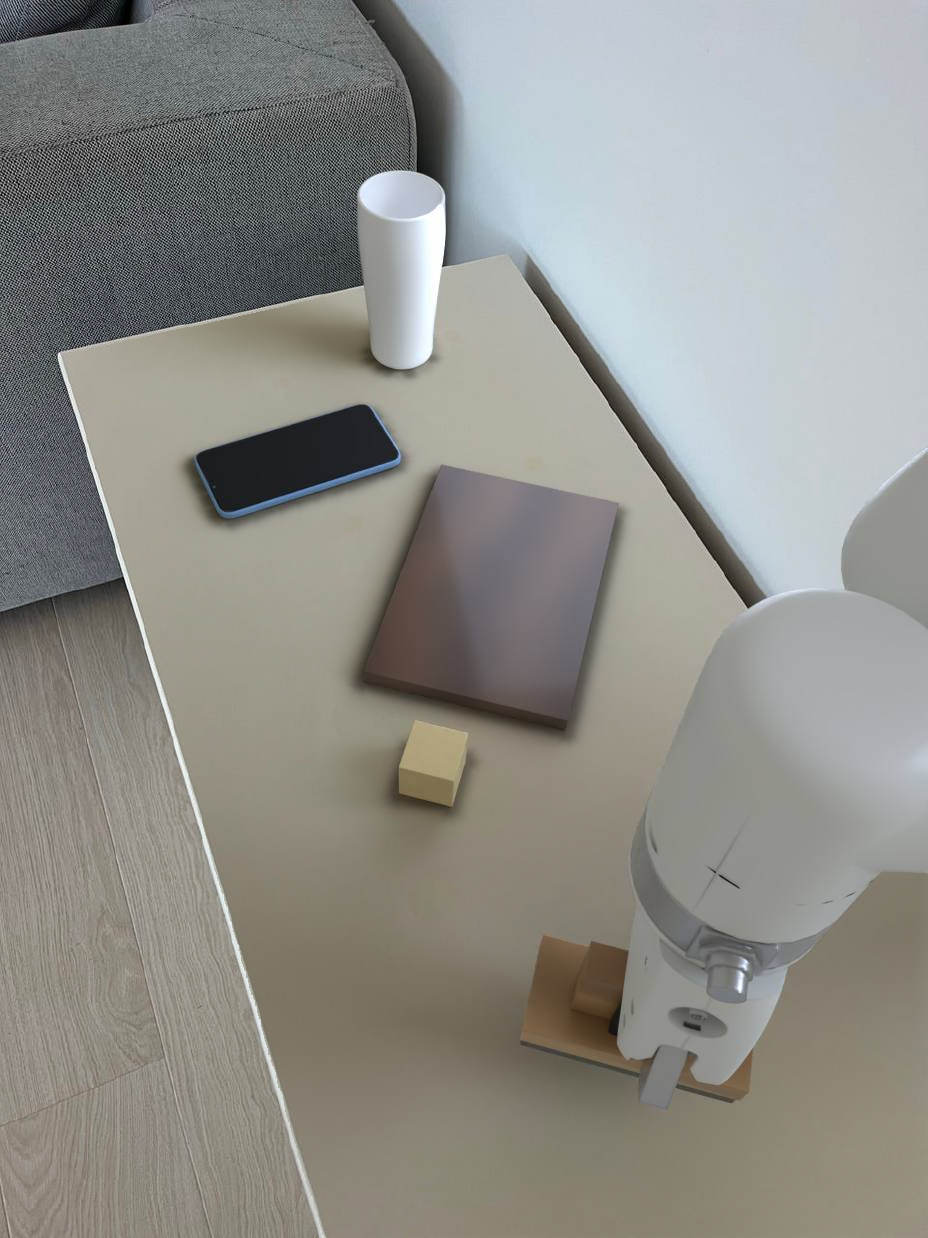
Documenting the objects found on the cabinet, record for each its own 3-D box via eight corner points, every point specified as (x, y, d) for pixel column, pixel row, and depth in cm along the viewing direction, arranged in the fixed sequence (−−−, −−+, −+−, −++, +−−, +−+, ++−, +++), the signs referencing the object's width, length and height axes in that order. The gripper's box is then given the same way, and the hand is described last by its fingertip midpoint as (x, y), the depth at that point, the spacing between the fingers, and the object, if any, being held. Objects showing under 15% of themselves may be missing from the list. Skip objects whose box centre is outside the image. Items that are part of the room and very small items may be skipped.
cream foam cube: (466, 760, 70) (468, 732, 67) (452, 807, 68) (454, 781, 65) (414, 747, 70) (414, 719, 67) (398, 793, 68) (398, 767, 65)
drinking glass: (425, 319, 95) (428, 162, 83) (452, 368, 92) (459, 211, 80) (352, 335, 94) (344, 176, 82) (376, 385, 90) (372, 227, 78)
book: (616, 513, 83) (619, 502, 82) (566, 730, 71) (568, 721, 70) (440, 474, 84) (441, 464, 83) (363, 681, 73) (363, 671, 72)
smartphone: (405, 457, 84) (221, 517, 80) (405, 465, 85) (222, 524, 80) (367, 397, 88) (189, 451, 83) (367, 405, 89) (191, 458, 84)
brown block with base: (537, 953, 58) (554, 897, 52) (743, 1009, 57) (787, 958, 51) (516, 1046, 55) (532, 998, 49) (734, 1107, 54) (779, 1066, 48)
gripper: (831, 1118, 34) (699, 1205, 49) (851, 704, 43) (734, 884, 58) (597, 1053, 35) (537, 1158, 50) (666, 661, 44) (598, 849, 59)
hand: (644, 1010), depth 54 cm, fingers closed on brown block with base
